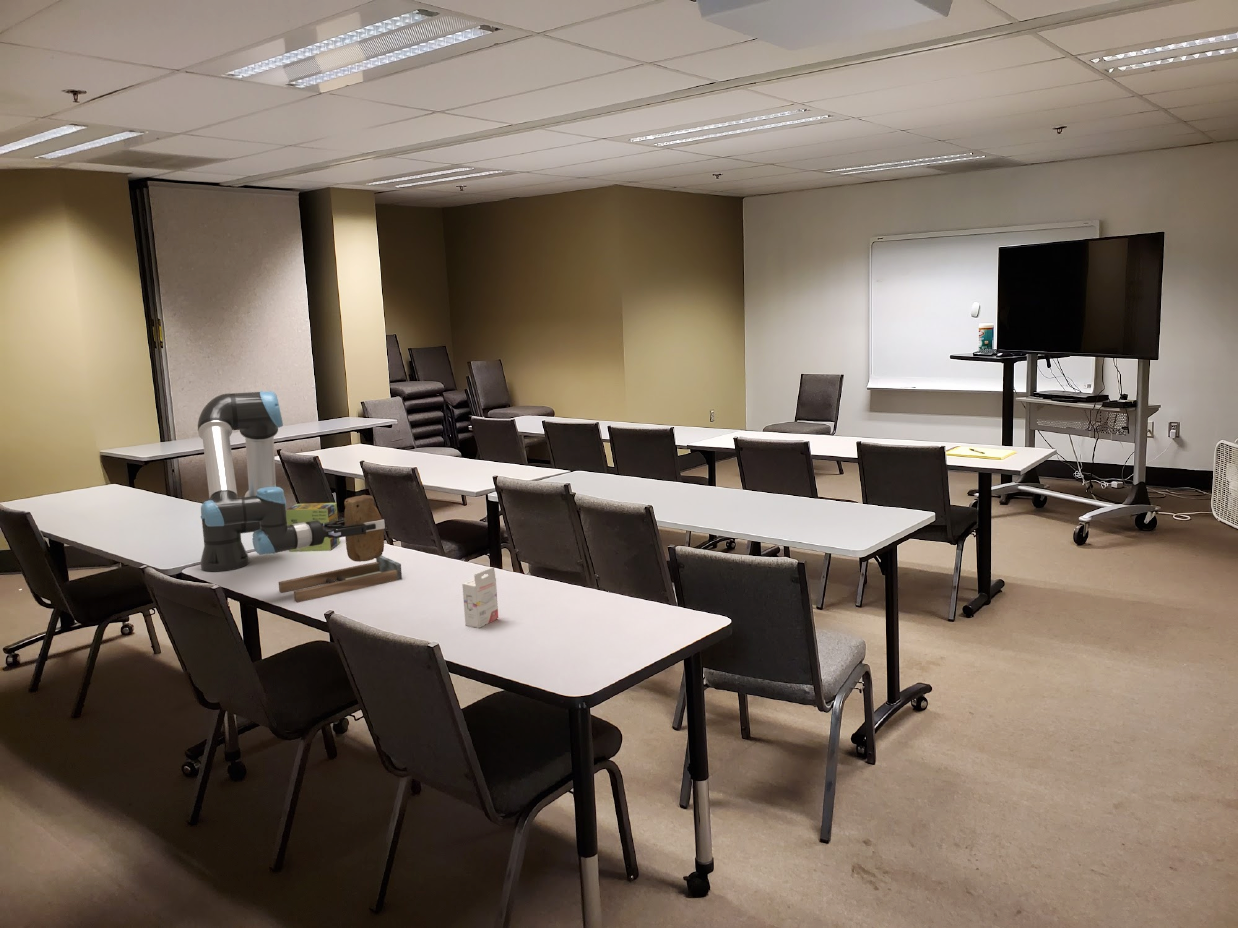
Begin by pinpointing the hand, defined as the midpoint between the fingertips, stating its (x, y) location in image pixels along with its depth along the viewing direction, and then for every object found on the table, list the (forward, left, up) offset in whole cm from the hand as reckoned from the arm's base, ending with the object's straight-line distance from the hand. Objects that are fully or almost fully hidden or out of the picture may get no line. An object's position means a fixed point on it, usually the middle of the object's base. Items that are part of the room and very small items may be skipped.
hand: (378, 521), depth 292 cm
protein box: (-53, -2, -18) cm, 56 cm away
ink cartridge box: (+61, 0, -18) cm, 64 cm away
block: (0, -5, -11) cm, 12 cm away
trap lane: (0, -14, -18) cm, 22 cm away
